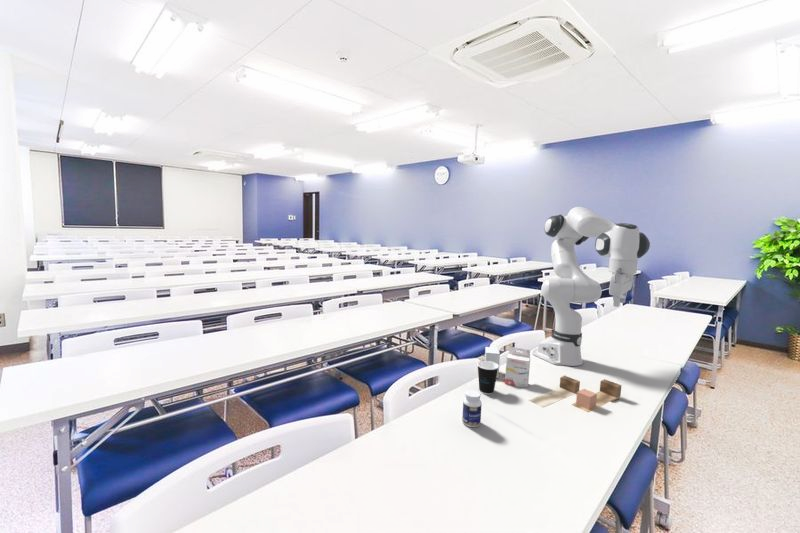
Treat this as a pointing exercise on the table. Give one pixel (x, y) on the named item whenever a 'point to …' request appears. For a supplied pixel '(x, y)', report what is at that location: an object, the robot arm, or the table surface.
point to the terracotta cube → (586, 399)
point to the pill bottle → (472, 409)
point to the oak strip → (605, 394)
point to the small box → (492, 356)
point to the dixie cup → (487, 376)
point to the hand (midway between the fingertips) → (619, 304)
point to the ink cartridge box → (517, 367)
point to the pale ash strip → (558, 392)
